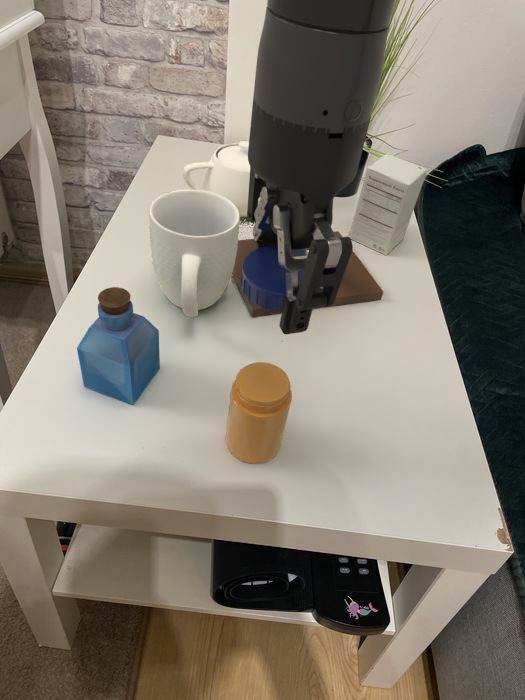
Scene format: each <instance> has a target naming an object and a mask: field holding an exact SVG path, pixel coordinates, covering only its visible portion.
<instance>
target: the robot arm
mask: <svg viewBox="0 0 525 700" xmlns="http://www.w3.org/2000/svg"><path fill="white" fill-rule="evenodd" d="M266 1H267V2H266V8H265V16H264V21H263V26H262V29H261V34H260V37H259V38H260V39H259V43H258V49H257V56H256V65H255V66H256V67H255V76H254V87H253V96H252V107H251V118H250V128H249V136H248V137H249V139H248V141H249V147H248V162H249V164H250V179H249V194H248V208H247V217H246V218H247V221H248V223H254V225H253V228H252V237H253V239H255V241H256V244H255V249H258V248H260V247H263V246H268V245H278V259H279V266H280V267H281V268H283V269H284V270H285V274H286V294H285V297H284V303H283V308H282V313H280V320H279V324H278V325H279V328H280V331H281V333H282V334H283V335H292V334H298V333H299V334H300V333H304V332H306V331H307V330H308V329H309V326H310V321H311V316H312V314H313V313H312V312H313V308H315V309H321V308H320V307H323V308H331V307H334V306H333V304H334V301H335V298H336V296H337V293H338V290H339V287H340V284H341V281H342V279H343V276H344V273H345V270H346V267H347V264H348V261H349V259H350V256H351V253H352V250H353V247H354V246H353V242H352V241H353V240H352V239H350V237H349V236H342V237H337V236H336V235H335V233H334V232H335V230H333V229H332V225H333V220H334V217H333V216H334V215H333V213H334V212H333V207H334V198H335V197H336V196H337V195H338V194H339V193H340V192H341V191H343V189H345V188H346V187H347V186H349V185H350V184H351V183H353V181H354V180H355V178H356V177H357V174H358V171H359V165H360V161H361V157H362V154H363V150H364V147H365V146H364V145H365V141H366V138H367V134H368V130H369V126H370V124H371V123H370V122H371V119H372V114H373V111H374V106H375V103H376V99H377V94H378V91H379V87H380V83H381V79H382V76H383V75H382V74H383V71H384V64H385V58H386V57H385V55H386V48H387V47H386V46H387V40H388V34H389V31H390V30H389V29H390V24H391V21H392V18H393V13H394V9H395V4H396V1H397V0H266ZM259 197H260V198H261V200H260V202H259V204H258V199H259ZM306 248H310V249H307V250H306V252H305V254H306V256H298V257H292V255H291V250H297V249H306ZM300 269H304V271H303V275H302V278H301V282H300V284H298V271H299V270H300ZM322 287H323V289H322Z"/></svg>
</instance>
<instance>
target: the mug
mask: <svg viewBox="0 0 525 700" xmlns="http://www.w3.org/2000/svg"><path fill="white" fill-rule="evenodd" d="M148 218H149V220H148V221H149V227H148V228H149V241H150V251H151V259H152V266H153V270H154V273H155V275H156V276H155V277H156V279H157V282H158V284H159V286H160V288H161V291H162V293H163V294H164V295H165V296H166V298H167V299H168V300H169V301H170V302H171V303H172V304H173V305H175V306H177V308H181V309H182V313H183V315H184V316H186V317H188V318H189V317H190V318H195V317H197V316H198V315H199V310H204V309H207V308H209V307H211V306H212V305H214V304H215V303H216V302H217V301H218V300H219V299H220V298H221V297H222V296H223V294H224V292H225V291H226V290H227V287H228V286H229V283H230V281H231V278H232V272H233V267H234V264H235V259H236V252H237V244H238V240H239V234H240V219H241V217H240V215H239V211H238V209H237V207H236V206H235V205H234V204H233V203H232V202H231V201H230V200H228V199H227V198H225V197H223V196H221V195H219V194H216V193H213V192H209V191H204V190H194V189H192V188H190V189H177V190H173V191H169V192H168V191H167V192H166V193H163V194H161V195H159V196H158V197H156V198H155V199H154V200H153V201H152V202H151V203H150V206H149V211H148Z"/></svg>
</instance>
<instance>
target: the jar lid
mask: <svg viewBox="0 0 525 700" xmlns="http://www.w3.org/2000/svg"><path fill="white" fill-rule="evenodd" d="M305 252H306V250H303V249H297V250H291V255H292V257H298V256H306V254H305ZM303 271H304V269H300V270H299V271H298V284H300V282H301V278H302V275H303ZM241 287H242V289H243V293H244V294H245V295H246V297H247V298H248V299H249V300H250V301H251V302H253V303H254V304H255V305H257V306H260V307H262V308H264V309H267V310H271V311H276V312H282V308H283V303H284V297H285V294H286V274H285V270H284V269H283V268H281V267H280V266H279V259H278V245H268V246H263V247H260V248H258V249H255V250H254V251H252V252H251V253H249V254H248V255H247V256H246V258H245V259H244V261H243V265H242V273H241Z"/></svg>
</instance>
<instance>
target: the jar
mask: <svg viewBox="0 0 525 700" xmlns="http://www.w3.org/2000/svg"><path fill="white" fill-rule="evenodd" d="M291 387H292V386H291V381H290V378H289V376H288V374H287V373H286V371H284V369H282V368H281V367H279V366H277V365H276V364H273V363H270V362H265V361H264V362H263V361H257V362H251V363H249V364H247V365H245V366H243V367H242V368H240V370H239V371H238V372H237V373H236V376H235V379H234V380H233V382H232V384H231V387H230V394H229V403H228V411H227V420H226V430H225V436H224V437H225V439H224V440H225V445H226V447H227V450H228V451H229V453H230V454H231V455H232V456H233V457H234V458H235V459H237V460H239V461H241V462H242V463H246V464H253V465H256V464H264V463H266V462H269V461H270V460H272V459H273V458H274V457H276V455H277V454H278V453H279V452H280V449H281V445H282V442H283V441H282V440H283V437H284V433H285V428H286V425H287V420H288V417H289V416H288V415H289V413H290V408H291V404H292V400H293V393H292V389H291Z"/></svg>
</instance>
